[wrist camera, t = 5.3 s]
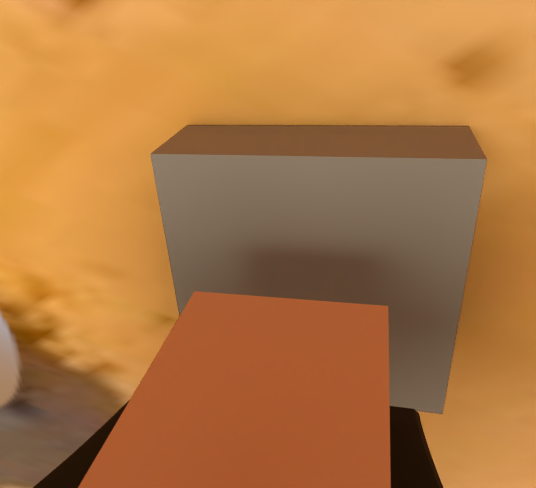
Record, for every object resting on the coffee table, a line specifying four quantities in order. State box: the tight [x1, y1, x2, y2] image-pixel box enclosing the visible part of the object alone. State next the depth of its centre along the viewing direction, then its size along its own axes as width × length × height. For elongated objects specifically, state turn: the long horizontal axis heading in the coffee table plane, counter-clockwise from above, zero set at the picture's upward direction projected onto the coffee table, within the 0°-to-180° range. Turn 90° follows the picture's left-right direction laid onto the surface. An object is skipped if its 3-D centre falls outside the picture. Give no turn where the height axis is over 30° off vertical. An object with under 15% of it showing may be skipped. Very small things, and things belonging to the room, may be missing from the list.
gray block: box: [151, 125, 487, 414], centre depth 16 cm, size 9×9×3 cm
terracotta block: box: [78, 291, 391, 488], centre depth 9 cm, size 4×4×6 cm
